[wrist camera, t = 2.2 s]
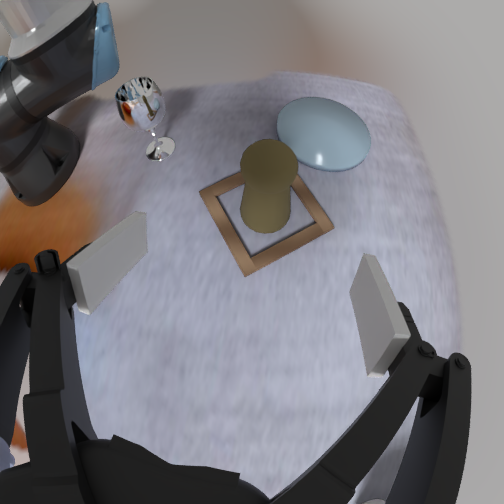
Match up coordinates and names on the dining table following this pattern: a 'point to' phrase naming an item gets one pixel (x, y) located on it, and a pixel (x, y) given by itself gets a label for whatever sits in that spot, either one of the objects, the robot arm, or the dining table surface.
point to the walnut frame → (277, 250)
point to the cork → (267, 185)
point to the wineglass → (144, 113)
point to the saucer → (324, 134)
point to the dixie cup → (375, 501)
